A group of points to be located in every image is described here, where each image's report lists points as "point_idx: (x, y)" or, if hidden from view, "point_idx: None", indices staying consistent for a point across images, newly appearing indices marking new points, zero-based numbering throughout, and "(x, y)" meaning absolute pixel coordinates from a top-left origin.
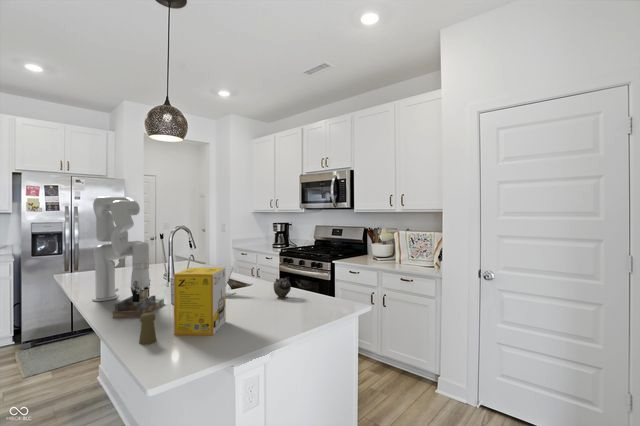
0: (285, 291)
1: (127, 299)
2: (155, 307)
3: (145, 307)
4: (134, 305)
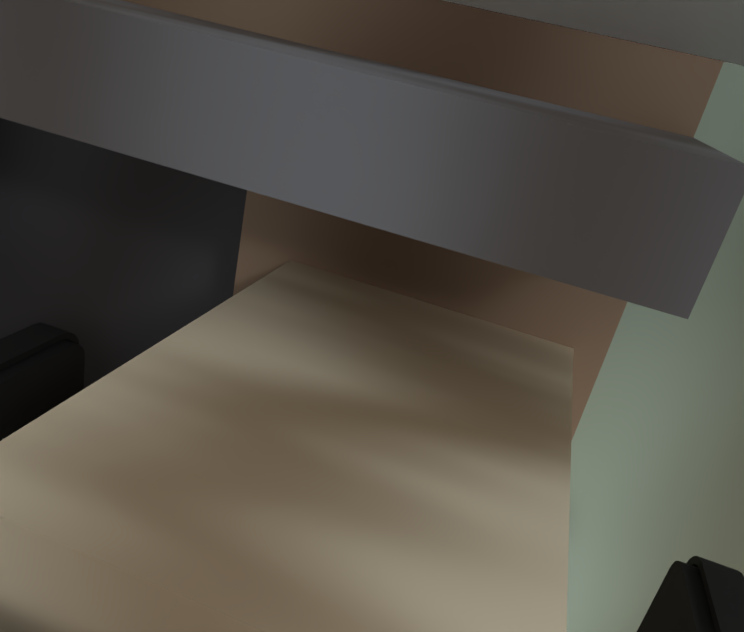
0: None
1: (79, 134)
2: None
3: None
4: None
